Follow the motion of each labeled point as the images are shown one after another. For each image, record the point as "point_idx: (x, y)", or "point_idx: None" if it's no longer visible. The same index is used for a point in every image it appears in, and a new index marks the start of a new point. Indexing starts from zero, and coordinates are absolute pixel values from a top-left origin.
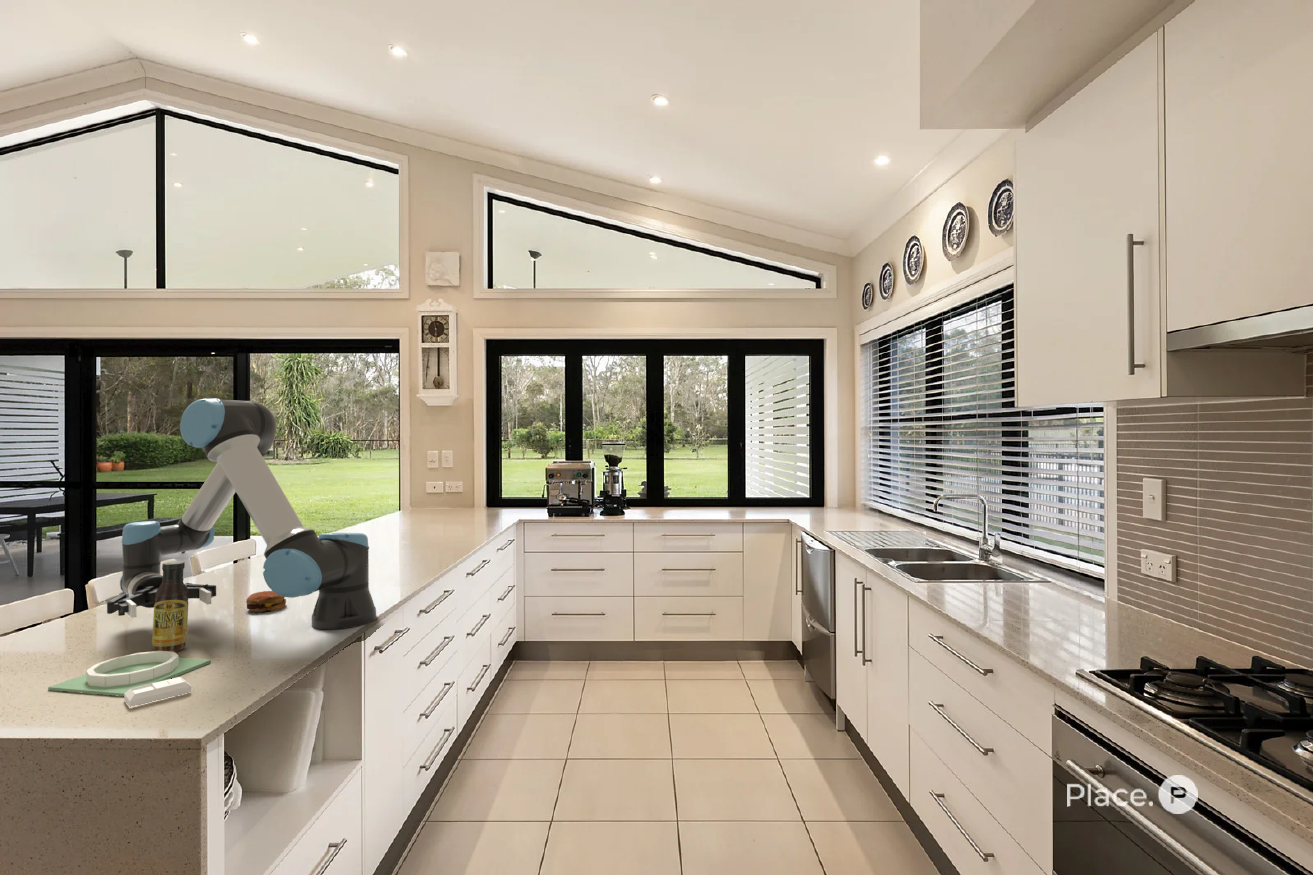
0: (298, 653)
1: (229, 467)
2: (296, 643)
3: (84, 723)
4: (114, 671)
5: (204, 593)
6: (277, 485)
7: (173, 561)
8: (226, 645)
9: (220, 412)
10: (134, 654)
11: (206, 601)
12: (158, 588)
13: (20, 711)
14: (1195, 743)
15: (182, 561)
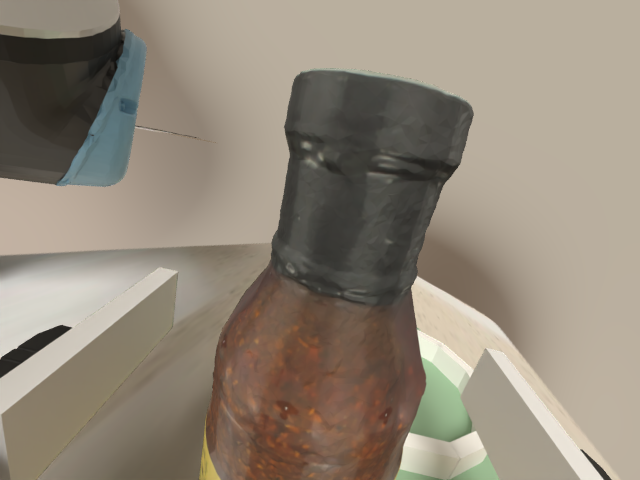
0: (166, 264)
1: None
2: (97, 290)
3: (433, 298)
4: (440, 436)
5: (139, 315)
6: None
7: (379, 75)
8: (134, 420)
9: None
10: (409, 435)
11: (162, 327)
12: (419, 350)
13: (536, 385)
14: (185, 136)
15: (302, 73)
